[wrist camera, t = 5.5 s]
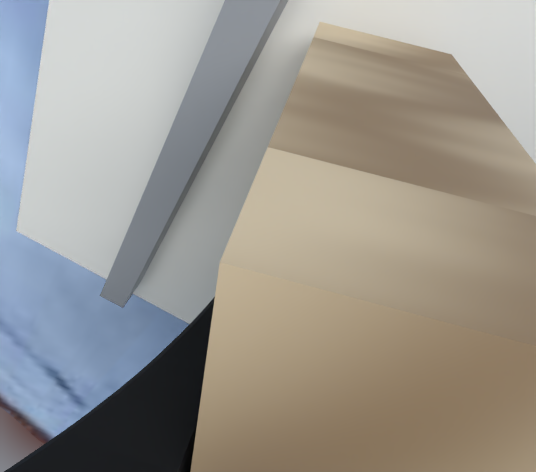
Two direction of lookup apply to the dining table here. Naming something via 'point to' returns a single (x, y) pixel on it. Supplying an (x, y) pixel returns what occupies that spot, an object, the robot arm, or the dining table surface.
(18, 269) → the dining table surface
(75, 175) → the white board with bars
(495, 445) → the wooden frame
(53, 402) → the dining table surface
